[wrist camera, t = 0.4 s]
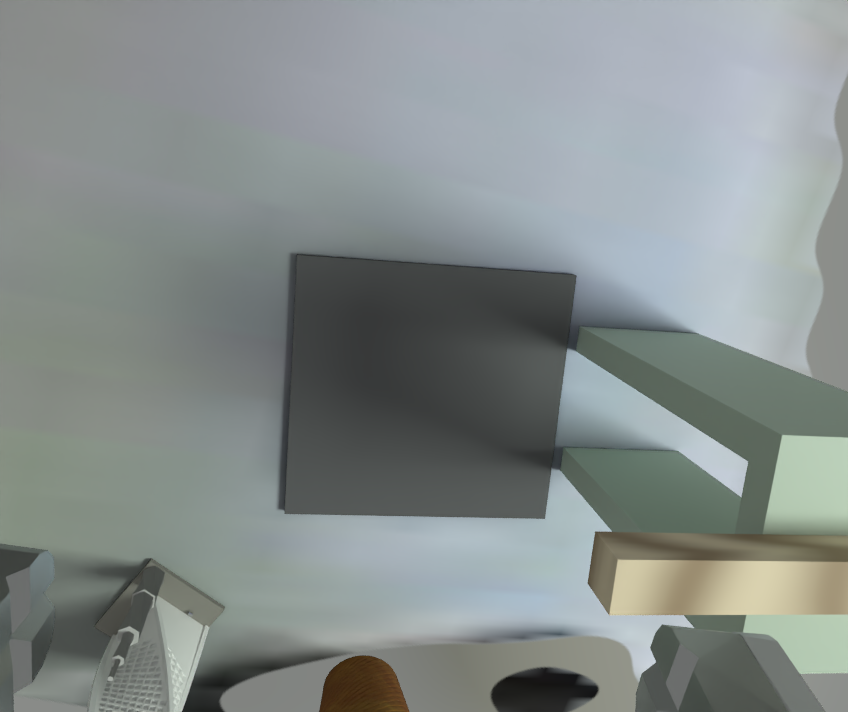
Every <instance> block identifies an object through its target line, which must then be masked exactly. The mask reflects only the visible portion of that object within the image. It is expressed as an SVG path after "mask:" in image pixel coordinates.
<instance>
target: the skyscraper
mask: <svg viewBox="0 0 848 712" xmlns="http://www.w3.org/2000/svg"><path fill="white" fill-rule="evenodd" d="M224 608H225V607H224V606H223V605H221V604H220V603H218V602H217V601H215V600H214V599H212V598H210V597H209V596H207V595H206V594H204V593H203V592H201V591H200V590H198V589H197V588H195V587H194V586H192V585H191V584H189V583H188V582H186V581H185V580H183V579H182V578H180V577H179V576H177V575H176V574H174V573H173V572H171V571H170V570H168V569H167V568H165V567H164V566H162V565H161V564H159V563H158V562H156V561H154V560H153V559H151V560H150V561H149V562H148V564H147V565H146V566H145V567H144V568H143V569H142V570H141V572H140V573H139V574H138V575H137V576H136V577H135V579H134V580H133V581H132V582H131V583H130V584H129V586H128V587H127V588H126V589H125V590H124V591H123V593H122V594H121V595H120V596H119V597H118V598H117V600H116V601H115V602H114V603H113V604H112V605H111V607H110V608H109V609H108V610H107V611H106V612H105V614H104V615H103V616H102V617H101V618H100V619H99V621H98V622H97V623H96V624H95V626H94V627H95V628H97V629H98V630H100V631H101V632H103V633H105V634H106V635H108V636H110V637H111V640H110V642H109V644H108V646H107V648H106V650H105V652H104V654H103V656H102V659H101V661H100V664H99V666H98V669H97V672H96V675H95V678H94V681H93V684H92V688H91V692H90V697H89V702H88V707H87V712H182V710H183V707H184V704H185V701H186V699H187V696H188V693H189V690H190V687H191V684H192V681H193V678H194V675H195V672H196V669H197V665H198V662H199V659H200V656H201V653H202V649H203V646H204V643H205V640H206V637H207V633H208V630H209V627H210V625H211V624H212V623H213V622H214V621H215V620H216V619H217V617H218V616H219V615H220V614H221V613H222V612H223V611H224Z"/></svg>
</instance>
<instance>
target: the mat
mask: <svg viewBox="0 0 848 712" xmlns="http://www.w3.org/2000/svg"><path fill="white" fill-rule="evenodd" d="M575 283H576V275H573V274H559V273H545V272H532V271H518V270H504V269H490V268H477V267H463V266H449V265H435V264H422V263H408V262H394V261H381V260H367V259H353V258H339V257H326V256H312V255H298V254H297V265H296V286H295V307H294V328H293V349H292V370H291V390H290V411H289V432H288V453H287V474H286V495H285V514H322V515H376V516H429V517H483V518H536V519H545V514H546V506H547V498H548V491H549V483H550V475H551V467H552V460H553V452H554V444H555V437H556V429H557V421H558V414H559V406H560V398H561V390H562V383H563V375H564V367H565V360H566V352H567V344H568V336H569V329H570V321H571V313H572V306H573V298H574V290H575Z"/></svg>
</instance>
